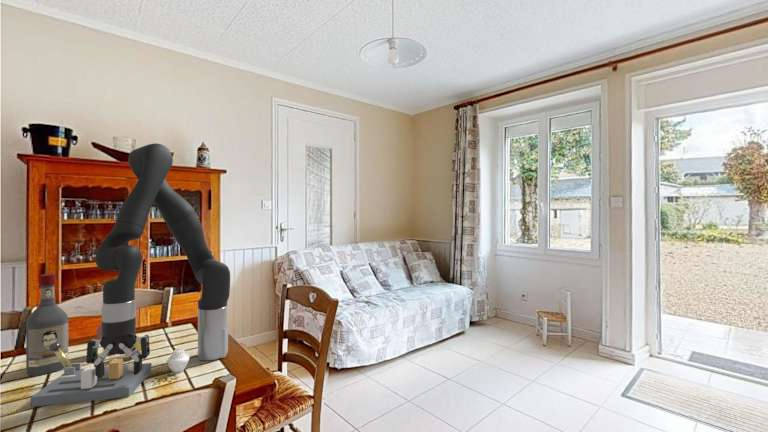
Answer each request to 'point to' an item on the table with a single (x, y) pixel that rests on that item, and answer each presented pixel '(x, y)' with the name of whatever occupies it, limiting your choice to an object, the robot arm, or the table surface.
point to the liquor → (46, 331)
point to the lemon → (137, 346)
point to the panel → (70, 388)
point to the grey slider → (88, 378)
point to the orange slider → (116, 369)
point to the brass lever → (60, 354)
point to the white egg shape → (178, 360)
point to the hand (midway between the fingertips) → (118, 375)
